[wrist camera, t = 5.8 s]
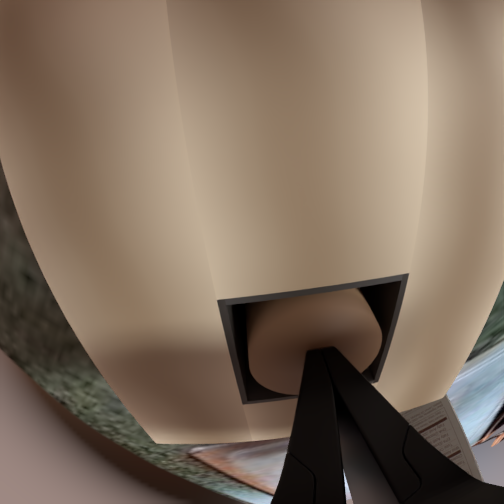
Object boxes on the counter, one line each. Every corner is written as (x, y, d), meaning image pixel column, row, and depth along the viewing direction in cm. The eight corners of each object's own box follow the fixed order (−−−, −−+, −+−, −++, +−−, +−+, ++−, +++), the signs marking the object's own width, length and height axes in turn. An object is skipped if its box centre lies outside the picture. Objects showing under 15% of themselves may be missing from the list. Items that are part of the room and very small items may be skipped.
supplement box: (438, 390, 21) (486, 509, 10) (364, 428, 23) (395, 549, 12) (428, 352, 18) (498, 510, 7) (334, 401, 20) (372, 563, 9)
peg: (343, 219, 11) (393, 295, 7) (337, 301, 13) (369, 382, 10) (236, 232, 11) (240, 318, 7) (248, 313, 13) (255, 401, 10)
